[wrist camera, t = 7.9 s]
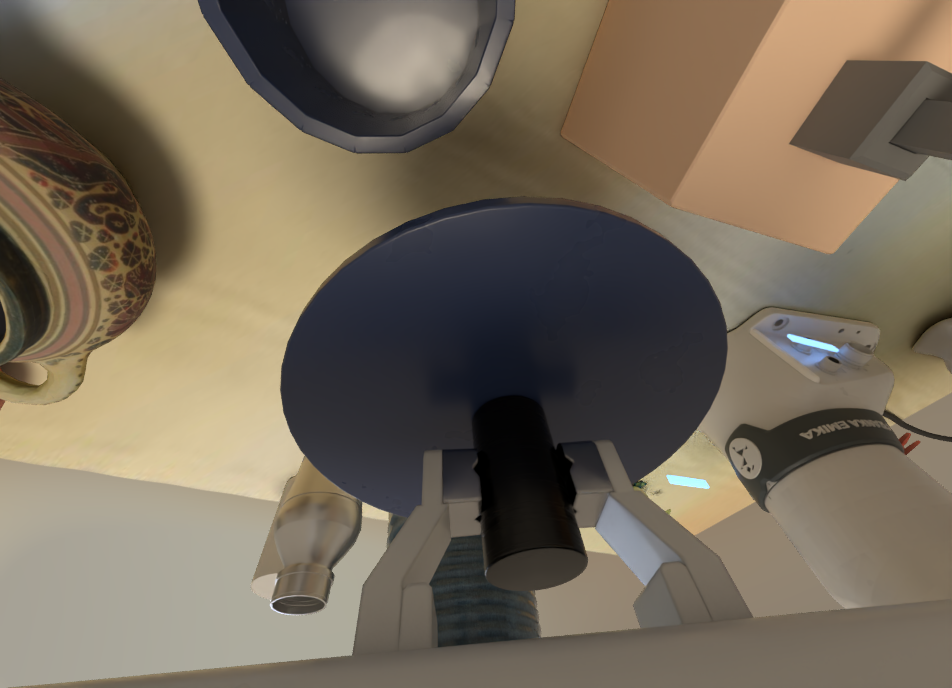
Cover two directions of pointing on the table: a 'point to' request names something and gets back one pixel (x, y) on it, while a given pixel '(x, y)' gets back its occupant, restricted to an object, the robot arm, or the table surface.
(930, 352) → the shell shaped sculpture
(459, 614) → the vase
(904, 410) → the table surface
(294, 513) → the metal water bottle
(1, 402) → the mitochondrion model
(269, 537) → the light grey upright cylinder
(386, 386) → the lid
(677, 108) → the soap dispenser
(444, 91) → the pot
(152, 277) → the patterned ceramic jar
